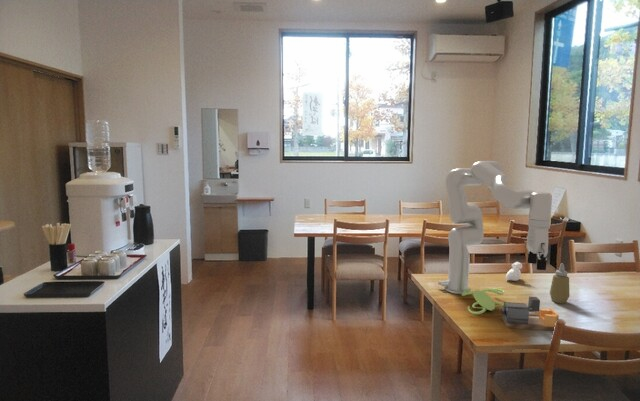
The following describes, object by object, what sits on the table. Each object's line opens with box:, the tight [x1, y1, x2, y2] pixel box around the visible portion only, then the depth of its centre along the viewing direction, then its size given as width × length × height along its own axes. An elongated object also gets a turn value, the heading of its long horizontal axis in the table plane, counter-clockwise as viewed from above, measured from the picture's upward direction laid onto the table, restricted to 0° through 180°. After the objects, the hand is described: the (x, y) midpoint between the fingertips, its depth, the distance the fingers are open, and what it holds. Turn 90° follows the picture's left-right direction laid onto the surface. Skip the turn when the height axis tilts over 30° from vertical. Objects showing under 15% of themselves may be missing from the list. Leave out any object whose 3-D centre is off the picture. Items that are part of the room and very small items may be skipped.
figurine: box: [461, 287, 505, 315], centre depth 188 cm, size 18×27×6 cm
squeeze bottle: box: [549, 262, 570, 304], centre depth 193 cm, size 8×8×18 cm
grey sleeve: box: [502, 301, 530, 324], centre depth 168 cm, size 8×5×7 cm, turn 82°
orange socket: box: [538, 307, 560, 327], centre depth 167 cm, size 4×7×5 cm, turn 172°
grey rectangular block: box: [506, 295, 541, 318], centre depth 168 cm, size 12×4×7 cm, turn 82°
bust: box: [505, 261, 523, 282], centre depth 224 cm, size 12×8×11 cm
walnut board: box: [501, 315, 555, 332], centre depth 168 cm, size 19×9×1 cm, turn 82°
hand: (536, 266), depth 167 cm, fingers open, 9 cm apart
